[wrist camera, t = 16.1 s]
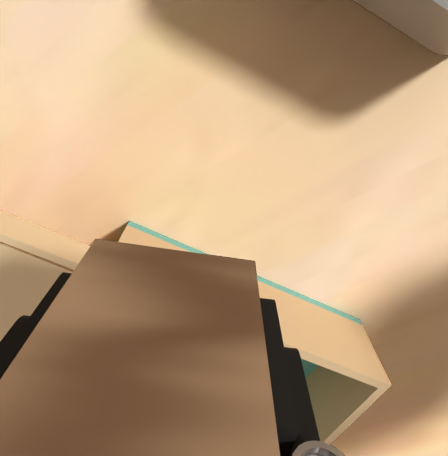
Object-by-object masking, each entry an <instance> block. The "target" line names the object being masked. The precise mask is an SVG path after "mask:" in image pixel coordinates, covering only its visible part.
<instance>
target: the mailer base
mask: <svg viewBox="0 0 448 456" xmlns="http://www.w3.org/2000/svg"><path fill="white" fill-rule="evenodd" d="M118 242H122V243H129V244H137V245H144V246H151V247H158V248H165V249H172V250H180V251H187V252H194V253H201V254H205V253H203V252H201V251H198V250H196V249H194V248H191V247H189V246H187V245H184V244H182V243H180V242H177V241H175V240H173V239H170V238H168V237H166V236H163V235H161V234H159V233H156V232H154V231H152V230H149V229H147V228H145V227H142V226H140V225H138V224H135V223H133V222H131V221H129V222H128V224H127V226H126V228H125V230H124V232H123V233H122V235H121V237H120V239H119V241H118ZM257 280H258V288H259V296H260V298H265V299H273V300H275V302H276V307H277V312H278V317H279V323H280V328H281V333H282V338H283V344H284V347H289V348H297V349H298V351H299V353H300V357H301V361H302V365H303V369H304V374H305V378H306V382H307V387H308V391H309V395H310V399H311V404H312V408H313V412H314V416H315V421H316V425H317V429H318V433H319V438H320V441H321V442H325V443H327V444H331V443H332V442H333V441H334V440H335V439H336V438H337V437H338V436H339V435H341V434H342V433H343V432H344V431H345V430H346V429H347V428H348V427H349V426H350V425H351V424H352V423H353V422H354V421H355V420H356V419H357V418H358V417H359V416H360V415H361V414H362V413H364V412H365V411H366V410H367V409H368V408H369V407H370V406H371V405H372V404H373V403H374V402H375V401H376V400H377V399H378V398H379V397H380V396H381V395H382V394H383V393H384V392H385V391H386V390H388V389H389V388H390V387H391V386H392V384H391V382H390V380H389V378H388V376H387V374H386V372H385V370H384V368H383V366H382V364H381V362H380V360H379V358H378V356H377V354H376V352H375V350H374V348H373V346H372V344H371V342H370V340H369V338H368V335H367V333H366V331H365V329H364V327H363V325H362V323H361V321H360V320H359V319H357V318H355V317H352V316H350V315H348V314H345V313H343V312H341V311H338V310H336V309H334V308H331V307H329V306H327V305H324V304H322V303H320V302H317V301H315V300H313V299H310V298H308V297H306V296H303V295H301V294H299V293H296V292H294V291H292V290H289V289H287V288H285V287H282V286H280V285H278V284H275V283H273V282H271V281H268V280H266V279H264V278H261V277H259V276H257Z"/></svg>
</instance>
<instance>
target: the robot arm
mask: <svg viewBox="0 0 448 456" xmlns="http://www.w3.org/2000/svg"><path fill="white" fill-rule="evenodd" d="M71 274H72V273H66V272H63V273H61V274H60V276H59V277H58V278H57V280H56V281H55V282H54V284H53V285H52V287H51V288H50V289H49V291H48V292H47V294H46V295H45V296H44V298H43V299H42V300H41V302H40V303H39V305H38V306H37V307H36V309H35V310H34V312H33V313H32V314H31V316H26V315H23V316H21V317H19V318H18V319H17V320H16V322H15V323H14V324H13V326H12V327H11V328H10V329H9V331H8V332H7V333H6V335H5V336H4V337H3V339H2V340H1V341H0V379H1V378H2V376H3V375H4V373H5V372H6V370H7V369H8V367H9V366H10V364H11V363H12V361H13V360H14V358H15V357H16V355H17V354H18V353H19V351H20V350H21V348H22V347H23V345H24V344H25V342H26V341H27V339H28V338H29V336H30V335H31V333H32V332H33V330H34V329H35V327H36V326H37V324H38V323H39V321H40V320H41V319H42V317H43V316H44V314H45V313H46V311H47V310H48V308H49V307H50V305H51V304H52V302H53V301H54V299H55V298H56V296H57V295H58V293H59V292H60V290H61V289H62V288H63V286H64V285H65V283H66V282H67V280H68V279H69V277H70V276H71ZM260 303H261V311H262V319H263V327H264V334H265V342H266V350H267V357H268V365H269V373H270V381H271V388H272V396H273V404H274V411H275V419H276V427H277V435H278V442H279V450H280V456H345V455H344V454H343V453H342V452H340V451H339V450H338V449H337V448H335V447H334V446H332V445H330V444H327V443H325V442H321V441H320V438H319V433H318V429H317V425H316V421H315V416H314V412H313V408H312V404H311V399H310V395H309V391H308V387H307V382H306V378H305V374H304V369H303V365H302V361H301V357H300V353H299V351H298V349H297V348H289V347H284V344H283V338H282V333H281V328H280V323H279V317H278V312H277V307H276V302H275V300H273V299H265V298H260Z"/></svg>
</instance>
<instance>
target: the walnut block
mask: <svg viewBox="0 0 448 456" xmlns="http://www.w3.org/2000/svg"><path fill="white" fill-rule="evenodd" d="M0 456H280V450H279V442H278V435H277V427H276V419H275V411H274V404H273V396H272V388H271V381H270V373H269V365H268V357H267V350H266V342H265V334H264V327H263V319H262V311H261V303H260V296H259V288H258V280H257V273H256V265H255V261H251V260H244V259H237V258H230V257H223V256H215V255H208V254H201V253H194V252H187V251H180V250H172V249H165V248H158V247H151V246H144V245H137V244H129V243H122V242H115V241H108V240H101V239H95V240H94V242H93V243H92V245H91V246H90V248H89V249H88V251H87V252H86V254H85V255H84V256H83V258H82V259H81V261H80V262H79V264H78V265H77V267H76V268H75V270H74V271H73V273H72V274H71V276H70V277H69V279H68V280H67V282H66V283H65V285H64V286H63V288H62V289H61V290H60V292H59V293H58V295H57V296H56V298H55V299H54V301H53V302H52V304H51V305H50V307H49V308H48V310H47V311H46V313H45V314H44V316H43V317H42V319H41V320H40V321H39V323H38V324H37V326H36V327H35V329H34V330H33V332H32V333H31V335H30V336H29V338H28V339H27V341H26V342H25V344H24V345H23V347H22V348H21V350H20V351H19V353H18V354H17V355H16V357H15V358H14V360H13V361H12V363H11V364H10V366H9V367H8V369H7V370H6V372H5V373H4V375H3V376H2V378H1V379H0Z"/></svg>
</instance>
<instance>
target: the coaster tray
mask: <svg viewBox="0 0 448 456" xmlns="http://www.w3.org/2000/svg"><path fill="white" fill-rule="evenodd" d="M353 1H355V2H356V3H358V4H359V5H361V6H362V7H364V8H365V9H367V10H369V11H370V12H372V13H373V14H375V15H376V16H378V17H379V18H381V19H382V20H384V21H386V22H387V23H389V24H390V25H392V26H393V27H395V28H396V29H398V30H399V31H401V32H402V33H404V34H406V35H407V36H409V37H410V38H412V39H413V40H415V41H416V42H418V43H419V44H421V45H422V46H424V47H426V48H427V49H429V50H430V51H432V52H433V53H435V54H436V55H448V0H353Z"/></svg>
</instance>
